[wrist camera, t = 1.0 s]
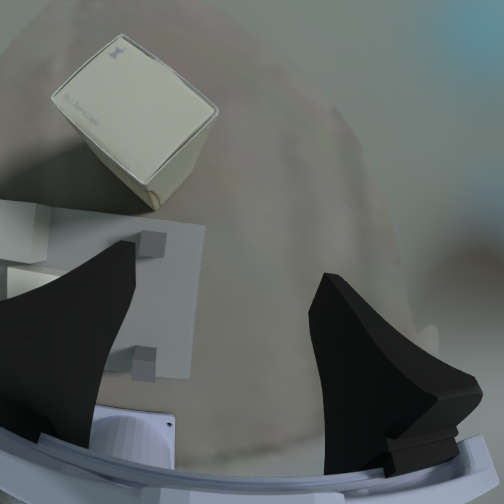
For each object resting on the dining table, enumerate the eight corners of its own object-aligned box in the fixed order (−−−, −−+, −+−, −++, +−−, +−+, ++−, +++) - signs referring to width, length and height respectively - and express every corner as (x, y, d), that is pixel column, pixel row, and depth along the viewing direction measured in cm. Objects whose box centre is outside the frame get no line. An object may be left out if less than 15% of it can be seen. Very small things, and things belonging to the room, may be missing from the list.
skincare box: (101, 162, 21) (42, 98, 9) (140, 120, 21) (119, 28, 9) (158, 214, 22) (141, 191, 10) (197, 171, 23) (223, 108, 11)
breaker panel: (188, 374, 23) (192, 397, 19) (-26, 333, 18) (-48, 346, 14) (204, 226, 23) (210, 224, 19) (-23, 200, 18) (-48, 195, 14)
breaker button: (112, 320, 20) (104, 331, 18) (23, 304, 18) (7, 312, 16) (114, 274, 20) (106, 280, 18) (24, 261, 18) (7, 264, 16)
